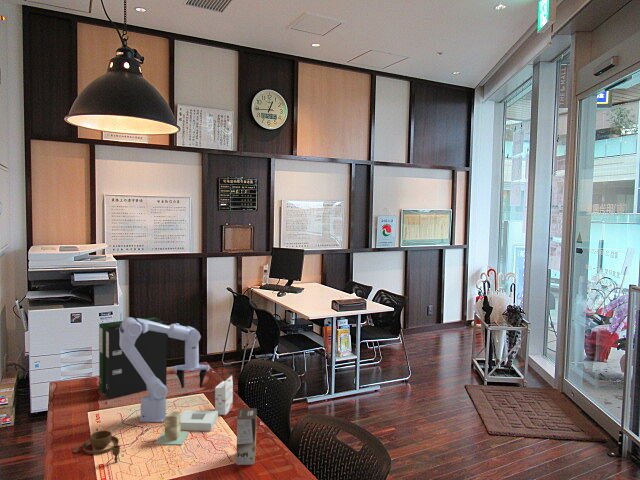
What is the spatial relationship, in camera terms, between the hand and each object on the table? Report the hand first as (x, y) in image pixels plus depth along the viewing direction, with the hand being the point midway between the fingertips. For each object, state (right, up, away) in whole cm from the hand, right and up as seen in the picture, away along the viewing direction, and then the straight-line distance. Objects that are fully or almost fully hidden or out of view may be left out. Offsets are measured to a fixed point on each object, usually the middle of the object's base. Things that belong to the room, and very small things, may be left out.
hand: (192, 387), depth 204 cm
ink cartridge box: (+13, -11, +1) cm, 17 cm away
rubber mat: (-1, -12, -25) cm, 27 cm away
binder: (-34, -9, +24) cm, 43 cm away
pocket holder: (+5, -11, -12) cm, 17 cm away
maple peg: (-1, -11, -25) cm, 27 cm away
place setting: (-23, -13, -36) cm, 45 cm away
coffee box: (+29, -14, -38) cm, 50 cm away
